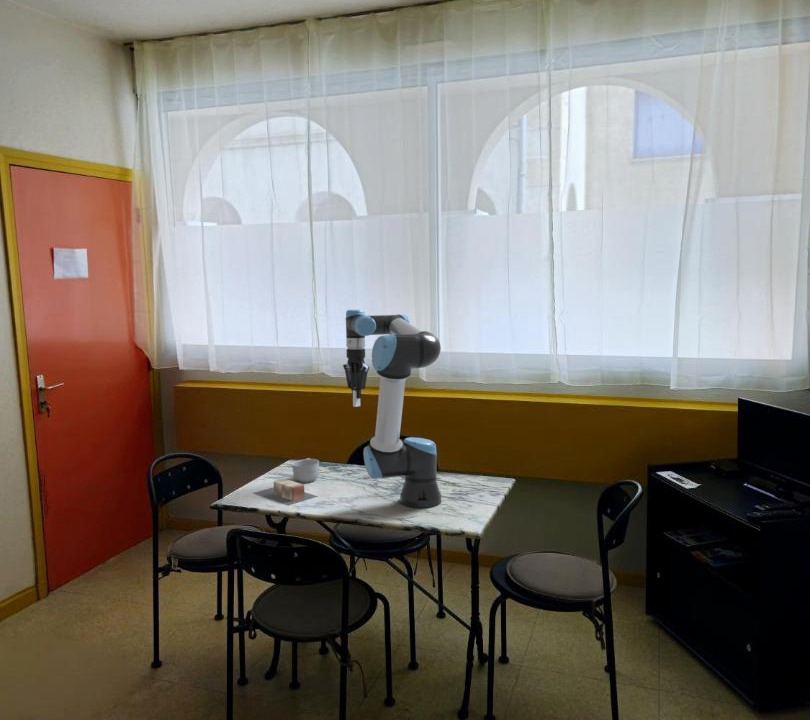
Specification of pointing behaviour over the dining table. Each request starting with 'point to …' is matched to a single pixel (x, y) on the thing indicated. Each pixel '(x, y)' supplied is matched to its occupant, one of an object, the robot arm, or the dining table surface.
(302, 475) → the teacup
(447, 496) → the dining table surface
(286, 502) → the mat
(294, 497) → the block
